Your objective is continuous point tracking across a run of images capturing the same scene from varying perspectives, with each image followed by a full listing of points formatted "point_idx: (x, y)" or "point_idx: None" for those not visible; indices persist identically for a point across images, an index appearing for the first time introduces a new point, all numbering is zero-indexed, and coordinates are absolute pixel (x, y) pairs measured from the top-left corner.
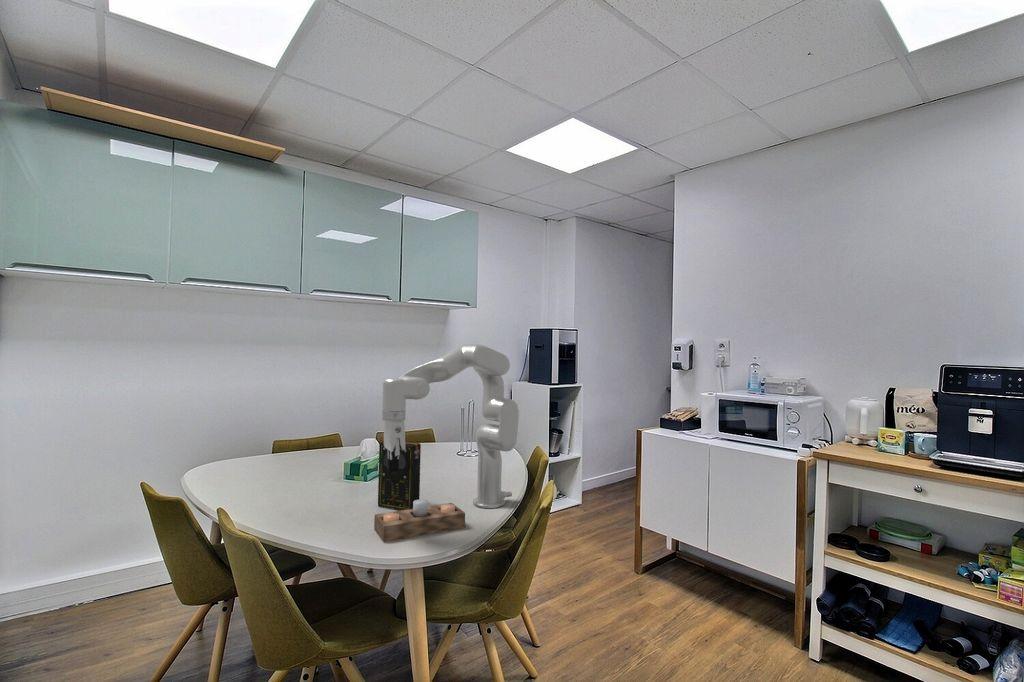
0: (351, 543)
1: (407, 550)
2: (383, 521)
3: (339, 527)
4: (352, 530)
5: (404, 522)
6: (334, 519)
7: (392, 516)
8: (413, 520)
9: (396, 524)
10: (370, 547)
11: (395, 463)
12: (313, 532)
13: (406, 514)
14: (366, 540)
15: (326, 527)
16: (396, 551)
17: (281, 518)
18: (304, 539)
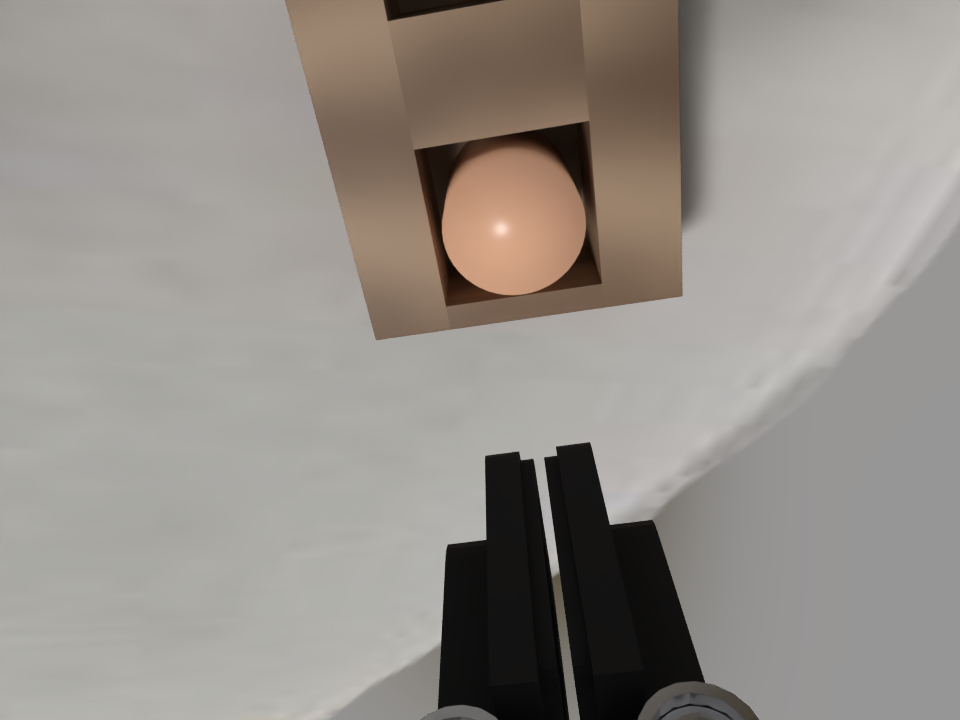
0: (586, 424)
1: (880, 100)
2: (567, 289)
3: (301, 475)
4: (371, 413)
5: (666, 115)
6: (151, 497)
7: (549, 223)
8: (650, 14)
9: (679, 193)
10: (697, 331)
11: (687, 641)
12: (353, 581)
13: (447, 61)
14: (572, 346)
15: (287, 532)
16: (850, 181)
17: (116, 697)
18: (442, 609)
